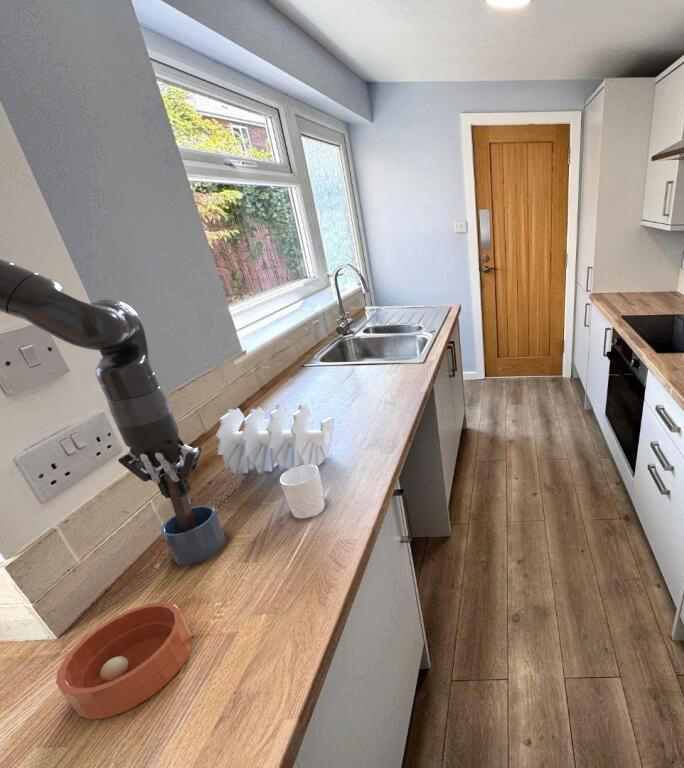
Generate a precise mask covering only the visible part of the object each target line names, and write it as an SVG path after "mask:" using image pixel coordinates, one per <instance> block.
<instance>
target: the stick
mask: <svg viewBox="0 0 684 768" xmlns="http://www.w3.org/2000/svg"><path fill="white" fill-rule="evenodd" d="M177 472H178V471H177ZM163 477H164V480H165V483H166V486H167V489H168V492H169V495H170V498H169V499H170V501H171V505H172V508H173V511H174V515H176V517H177V521H178V524H179V527H180V530H181V533H184V532H187V531H190V530H192V529H194V528H196V527H197V526H196V523H195V519H194V516H193V513H192V510H191V508H192V507H191V503H190V501H189V500H190V499H189V498H188V494H187V495H186V496H185V497H179V496H178V494H177V492H176V489H175V487H174V485H173V481H172V479H171V477H170V475H169V473H168V472H167V473H164V474H163Z"/></svg>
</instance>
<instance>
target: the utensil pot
mask: <svg viewBox="0 0 684 768" xmlns="http://www.w3.org/2000/svg"><path fill="white" fill-rule="evenodd" d="M191 510H192V513H193V516H194V519H195V523H196V526H197V527H196V528H194V529H192V530H190V531H187V532H184V533H181V530H180V527H179V524H178V521H177V517H176V514H174V515H172V516H171V517H170V518H168V519H167V520H166V521H165V522H164V523H163V524H162V527H161V529H160V531H161V534H162V537H163V539H164V541H165V543H166V545H167V547H168V549H169V551H170V553H171V556H172V558H173V560H174V562H175V563H176V564H178V565H182V566H189V565H195V564H198V563H201V562H203V561H206V560H208V559H209V558H211V557H212V556H214V555H216V554H217V553H218V552H220V550H221V549H222V548H223V547H224V545H225V543H226V541H227V537H226V535H225V533H224V530H223V527H222V525H221V523H220V520H219V517H218V515H217V512H216V510H215V508H214V507H213V506H211V505H198V506H193V507H191Z"/></svg>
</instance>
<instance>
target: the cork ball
mask: <svg viewBox="0 0 684 768" xmlns="http://www.w3.org/2000/svg"><path fill="white" fill-rule="evenodd" d="M127 668H128V660H127V659H126V658H125V657H122V656H118V657H114V658H112V659H110V660H108V661H107V662H106V663H105V664H104V665H103V666H102V668H101V670H100V677H101V678H102V679H103V680H105V681H113V680H115V679H117V678H119V677H121V676H122V675H123V674H124V673H125V672H126V670H127Z"/></svg>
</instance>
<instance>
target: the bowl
mask: <svg viewBox="0 0 684 768" xmlns="http://www.w3.org/2000/svg"><path fill="white" fill-rule="evenodd" d="M193 644H194V640H193V634H192V630H191V629H190V626H189V625H188V623H187V621H186V619H185V617H184V614H183V612H182V610H181V609H180V608H179V607H178V606H177V605H176V604H174V603H171V602H164V601H160V602H151V603H145V604H143V605H139V606H136V607H133V608H130V609H129V610H126V611H124V612H122V613H120V614H118V615H115V616H113V617H112V618H110V619H109V620H107V621H105V622H104V623H102V624H101V625H99V626H97V627H96V628H94V629H93V630H92V631H91V632H90V633H88V634H87V635H86V636H85V637H84V638H82V639H81V640H80V641H79V642H78V643H77V644H76V645H75V646H74V647H73V648H72V650H70V652H69V653H68V654H67V655H66V656H65V657H64V659H63V661H62V662H61V665H60V666H59V668H58V669H57V673H56V679H55V680H56V681H55V684H56V686H57V688H58V689H59V691H60V693H62V695H63V696H64V698H65V699H66V701H67V702H68V703H69V705H70V707H72V709H73V710H74V711H75V713H76V714H77V715H78V716H79V717H82V718H85V719H88V720H100V719H108V718H111V717H114V716H116V715H119V714H122V713H125V712H127V711H129V710H131V709H133V708H134V707H136V706H138V705H139V704H141V703H143V702H145V701H146V700H148V699H150V698H151V697H152V696H154V695H155V694H156V693H157V692H158V691H160V690H161V689H163V687H164V686H166V685H167V684H168V683H169V682H170V681H171V680H172V678H174V677H175V675H176V674H177V673H178V672H179V671H180V670H181V669H182V667H183V665H184V664H185V663H186V661H187V659H189V658H188V657H189V656H190V654H191V650H192V647H193ZM118 656H122V657H125V658H126V659H127V660H128V668H127V670H126V672H125V673H124V674H123V675H122V676H121V677H119V678H117V679H115V680H113V681H105V680H103V679H102V678H101V677H100V670H101V668H102V666H103V665H104V664H105V663H106V662H107V661H108V660H110V659H112V658H114V657H118Z"/></svg>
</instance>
